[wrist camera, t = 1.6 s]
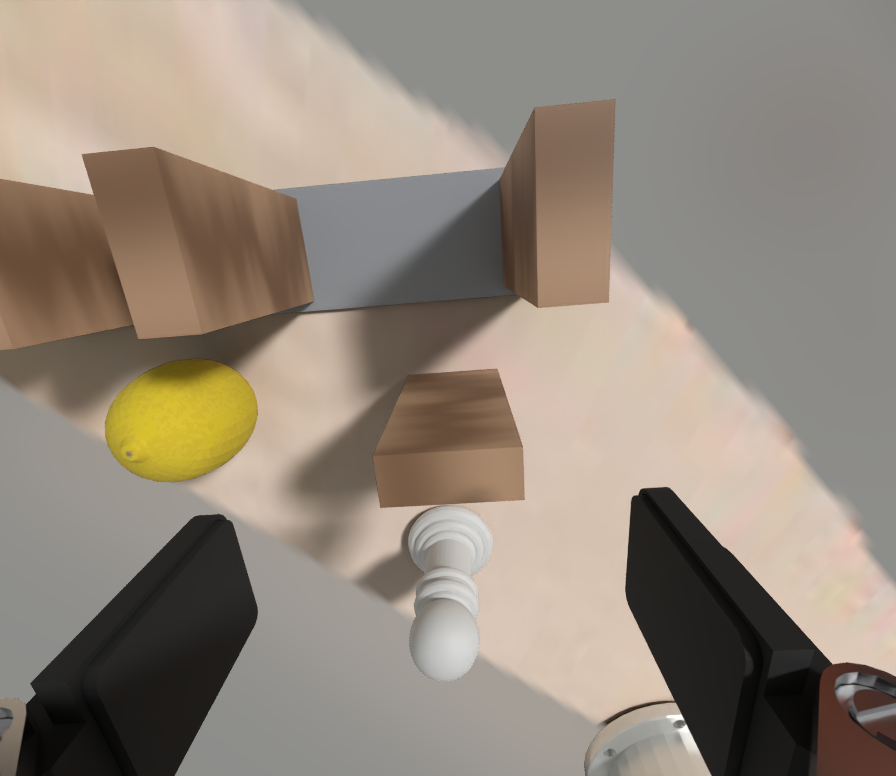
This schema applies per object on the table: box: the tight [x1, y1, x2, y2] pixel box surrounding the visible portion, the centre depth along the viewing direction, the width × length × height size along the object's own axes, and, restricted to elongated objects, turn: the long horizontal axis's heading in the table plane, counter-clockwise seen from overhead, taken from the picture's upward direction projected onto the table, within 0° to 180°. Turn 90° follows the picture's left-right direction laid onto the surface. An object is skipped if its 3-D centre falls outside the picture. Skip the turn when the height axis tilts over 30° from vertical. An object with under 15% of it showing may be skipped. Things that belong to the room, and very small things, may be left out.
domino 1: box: [0, 179, 134, 350], centre depth 17 cm, size 5×2×10 cm, turn 5°
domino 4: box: [499, 99, 615, 308], centre depth 16 cm, size 5×2×10 cm, turn 5°
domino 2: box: [82, 147, 314, 339], centre depth 16 cm, size 5×2×10 cm, turn 5°
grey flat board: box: [130, 168, 517, 326], centre depth 21 cm, size 6×28×1 cm, turn 95°
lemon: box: [105, 359, 258, 482], centre depth 20 cm, size 6×6×8 cm
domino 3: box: [373, 369, 525, 508], centre depth 19 cm, size 5×2×10 cm, turn 95°
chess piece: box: [408, 505, 493, 681], centre depth 22 cm, size 5×5×9 cm
